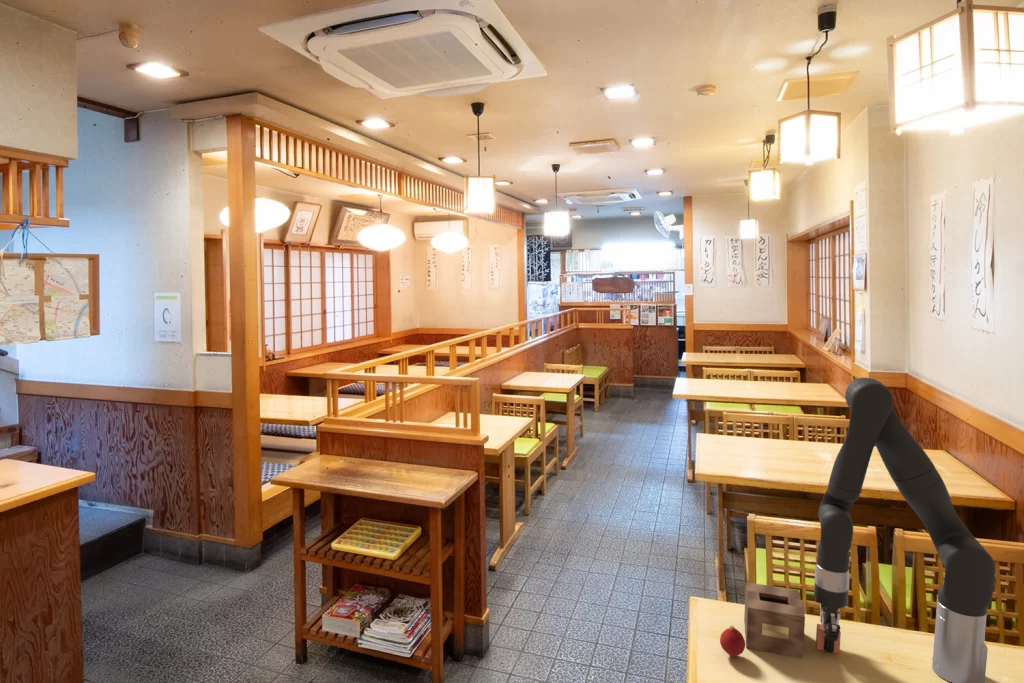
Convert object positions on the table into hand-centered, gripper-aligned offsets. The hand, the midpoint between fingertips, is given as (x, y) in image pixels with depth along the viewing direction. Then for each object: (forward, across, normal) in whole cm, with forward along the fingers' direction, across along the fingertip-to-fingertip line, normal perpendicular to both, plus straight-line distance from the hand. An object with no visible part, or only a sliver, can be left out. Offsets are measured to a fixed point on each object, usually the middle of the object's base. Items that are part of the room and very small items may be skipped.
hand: (827, 647), depth 149 cm
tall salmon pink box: (0, 0, 0) cm, 0 cm away
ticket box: (0, 0, +13) cm, 13 cm away
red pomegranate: (0, -11, +23) cm, 25 cm away
